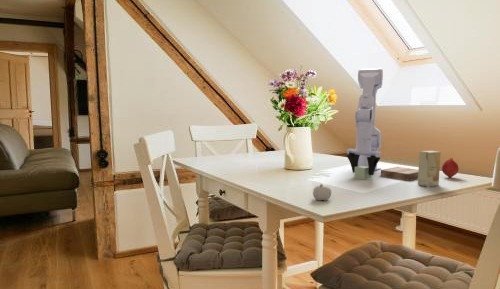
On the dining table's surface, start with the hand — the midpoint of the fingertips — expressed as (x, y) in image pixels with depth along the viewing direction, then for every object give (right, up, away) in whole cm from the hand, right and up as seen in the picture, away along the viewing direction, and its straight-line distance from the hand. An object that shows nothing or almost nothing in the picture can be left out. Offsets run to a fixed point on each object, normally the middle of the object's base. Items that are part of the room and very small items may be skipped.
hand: (362, 173), depth 155 cm
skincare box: (+20, -3, -14) cm, 24 cm away
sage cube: (0, -2, 0) cm, 2 cm away
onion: (+34, -2, 0) cm, 34 cm away
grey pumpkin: (-22, -6, -34) cm, 41 cm away
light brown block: (+17, -1, +3) cm, 17 cm away
